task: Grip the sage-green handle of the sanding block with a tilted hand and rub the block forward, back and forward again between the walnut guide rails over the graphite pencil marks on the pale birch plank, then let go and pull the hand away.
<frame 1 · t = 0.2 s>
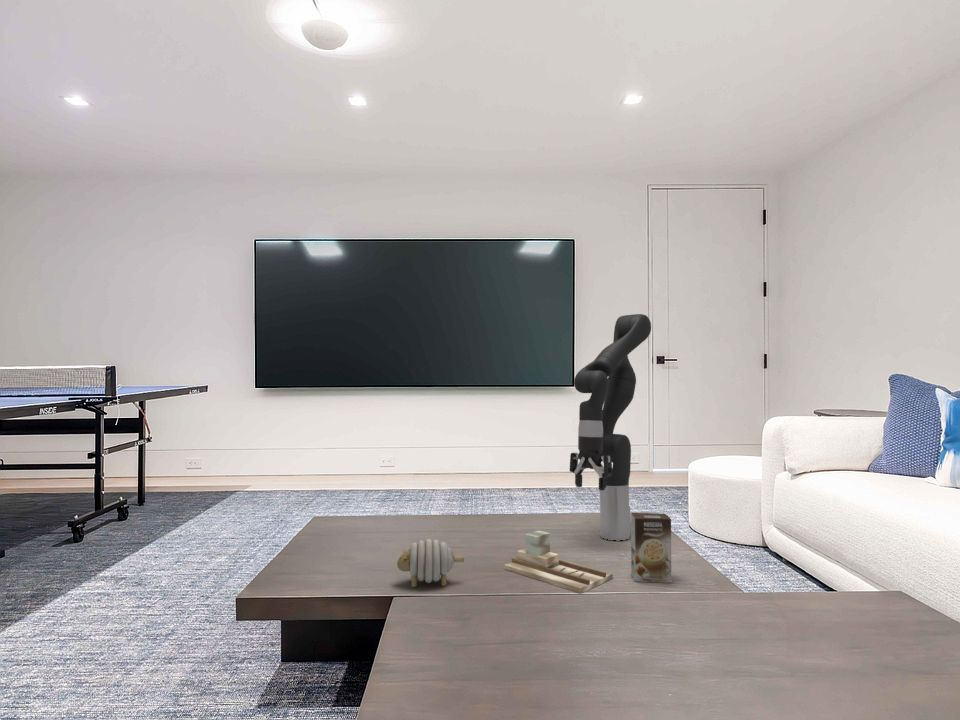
hand: (590, 488, 174), 18 cm above the table, tool pointing down, fingers open, 8 cm apart
coffee box: (651, 579, 146), on the table
birch plank: (557, 573, 150), on the table
sanding block: (537, 548, 155), point 5 cm above the table, slide at 0.0 cm
toy sheep: (430, 584, 144), on the table
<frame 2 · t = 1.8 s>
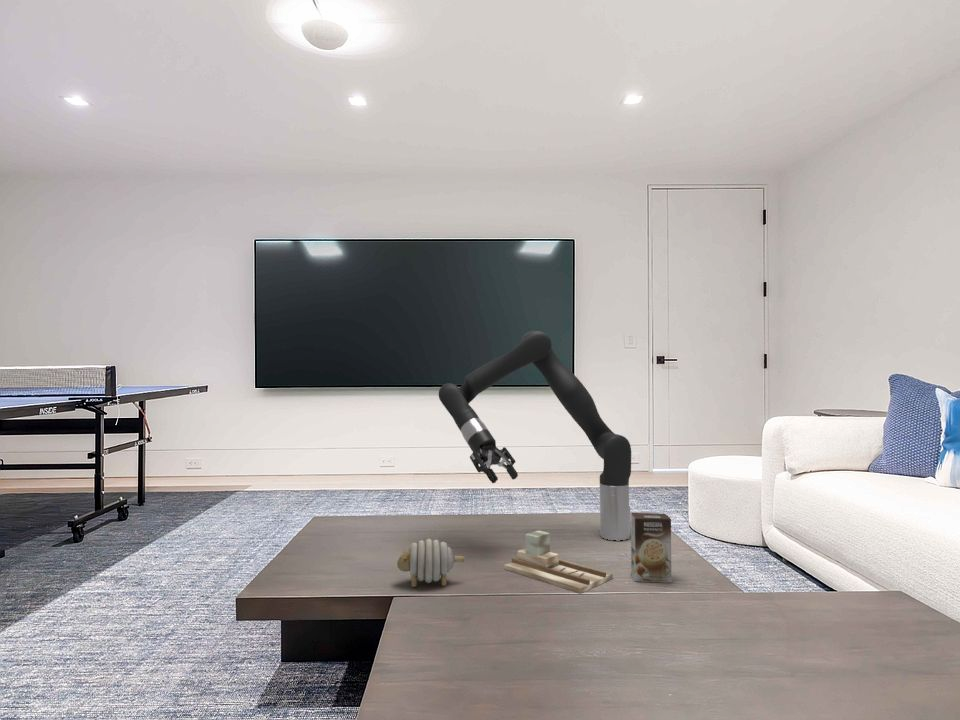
hand: (505, 479, 164), 23 cm above the table, tool tilted 45°, fingers open, 8 cm apart
nothing on the table moved.
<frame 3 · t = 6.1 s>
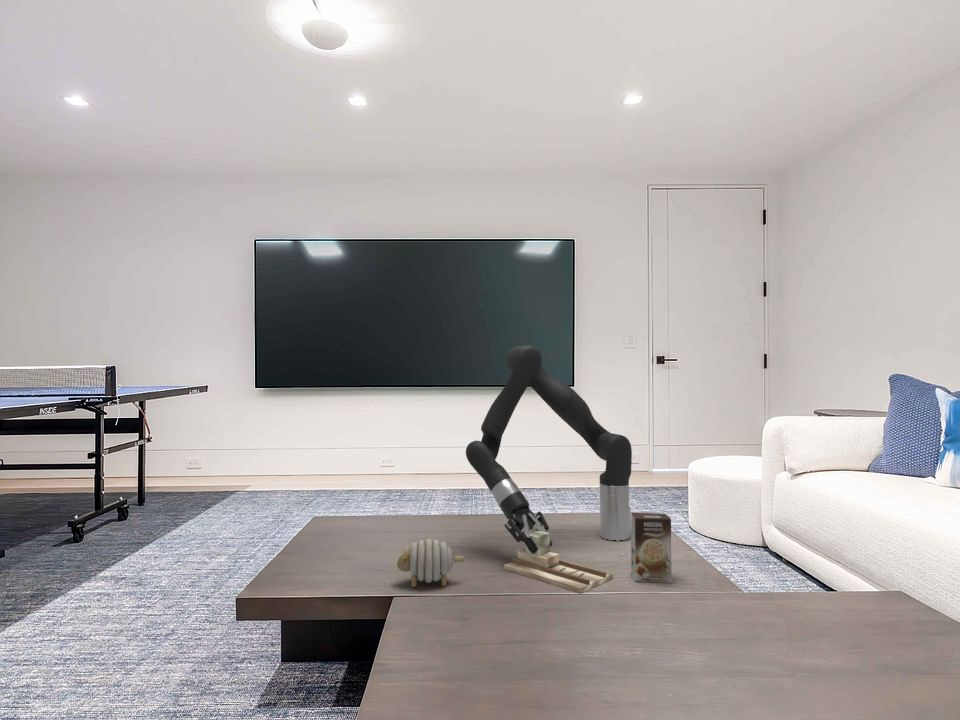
hand: (543, 549, 154), 5 cm above the table, tool tilted 45°, fingers closed on sanding block, 5 cm apart
sanding block: (537, 548, 155), point 5 cm above the table, slide at 0.0 cm, touching gripper
everything else where it was.
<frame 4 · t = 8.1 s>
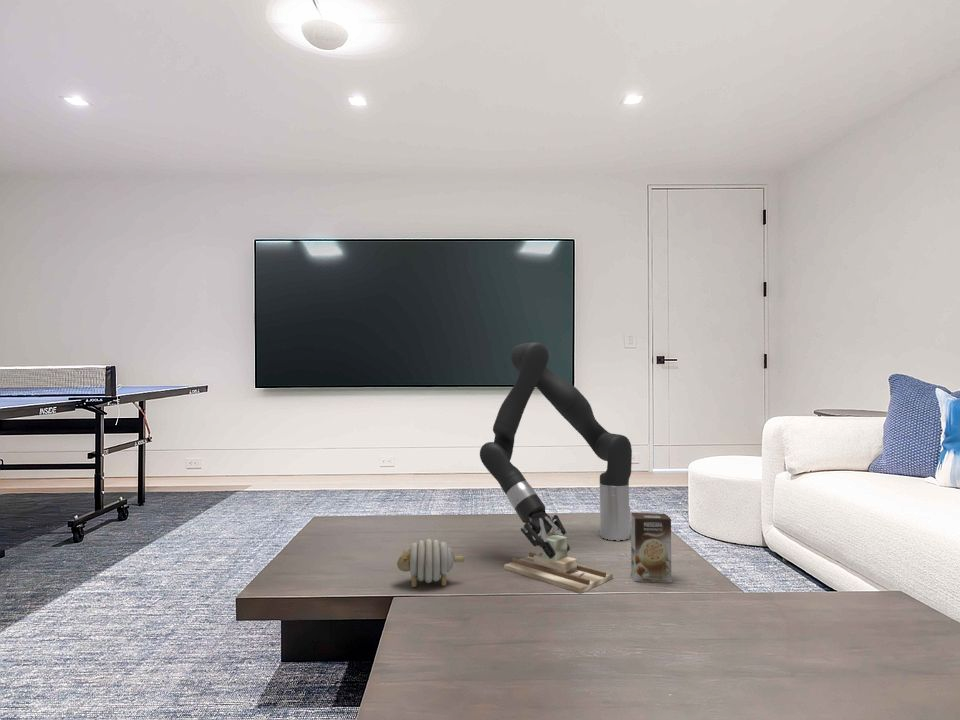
hand: (560, 553, 150), 5 cm above the table, tool tilted 45°, fingers closed on sanding block, 5 cm apart
sanding block: (554, 553, 151), point 5 cm above the table, slide at 5.9 cm, touching gripper
everything else where it was.
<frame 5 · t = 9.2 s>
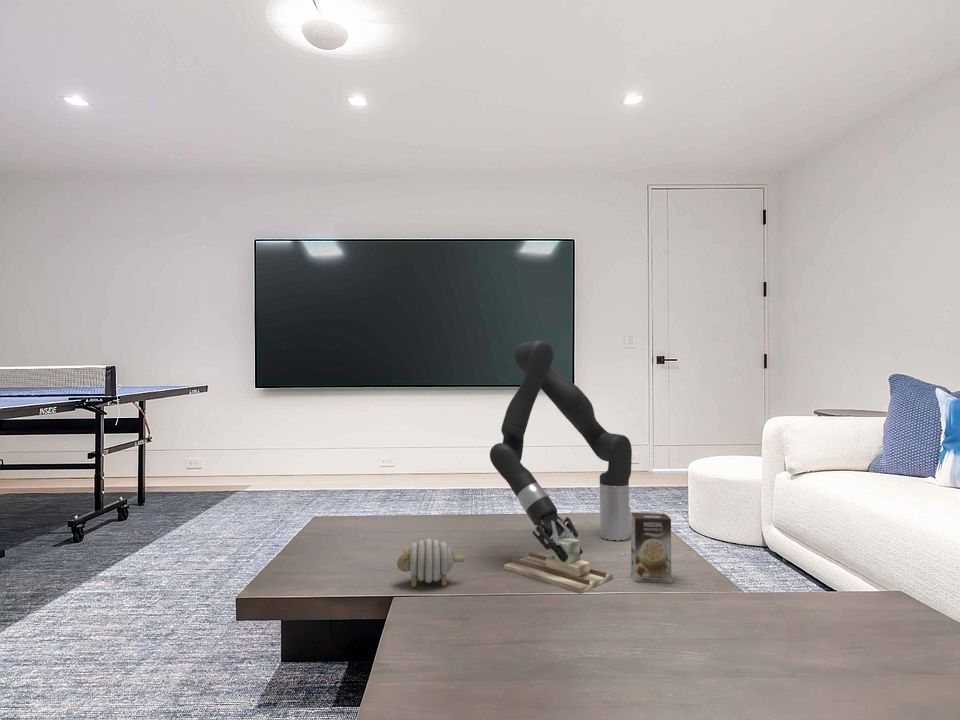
hand: (573, 557, 147), 5 cm above the table, tool tilted 45°, fingers closed on sanding block, 5 cm apart
sanding block: (567, 556, 148), point 5 cm above the table, slide at 10.0 cm, touching gripper
everything else where it was.
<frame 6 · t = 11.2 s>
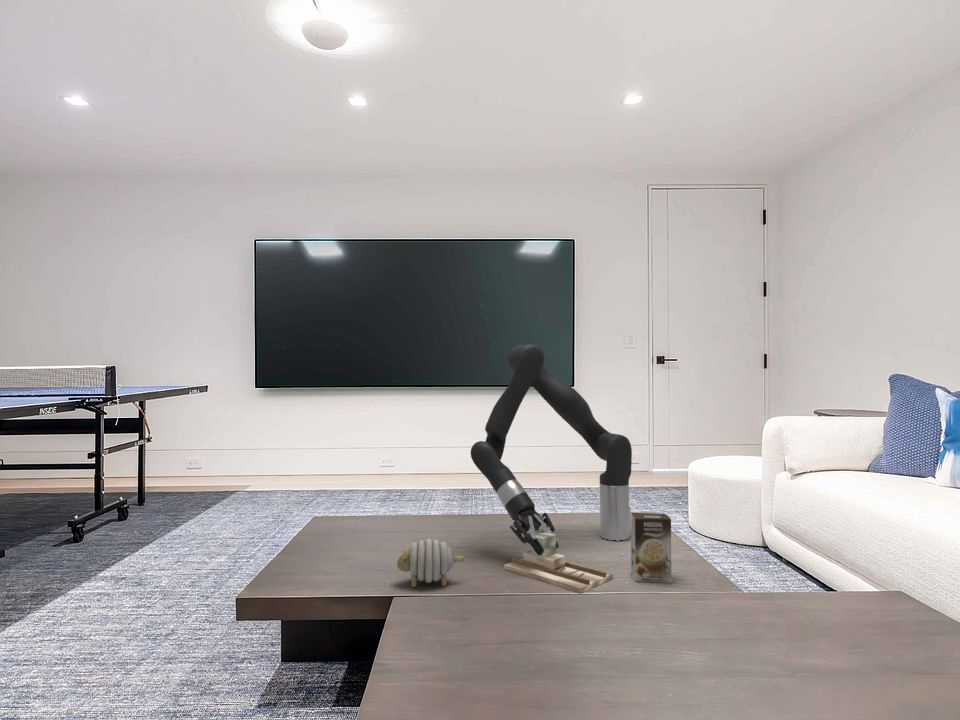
hand: (549, 550, 152), 5 cm above the table, tool tilted 45°, fingers closed on sanding block, 5 cm apart
sanding block: (543, 550, 154), point 5 cm above the table, slide at 2.1 cm, touching gripper
everything else where it was.
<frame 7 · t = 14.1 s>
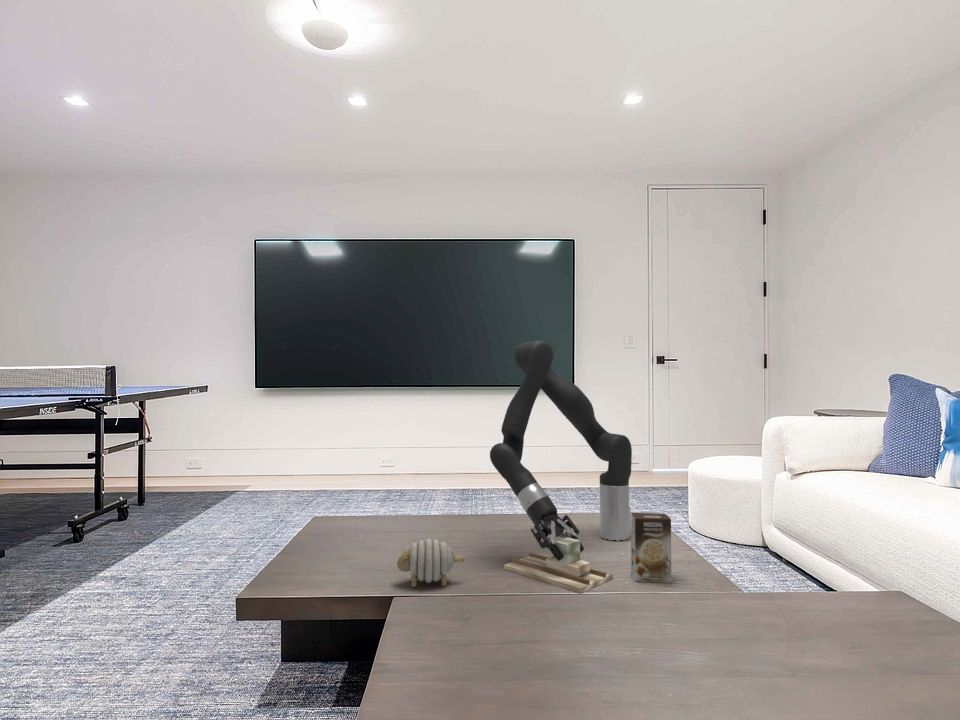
hand: (571, 555, 147), 6 cm above the table, tool tilted 45°, fingers open, 8 cm apart
sanding block: (567, 556, 148), point 5 cm above the table, slide at 10.0 cm
everything else where it was.
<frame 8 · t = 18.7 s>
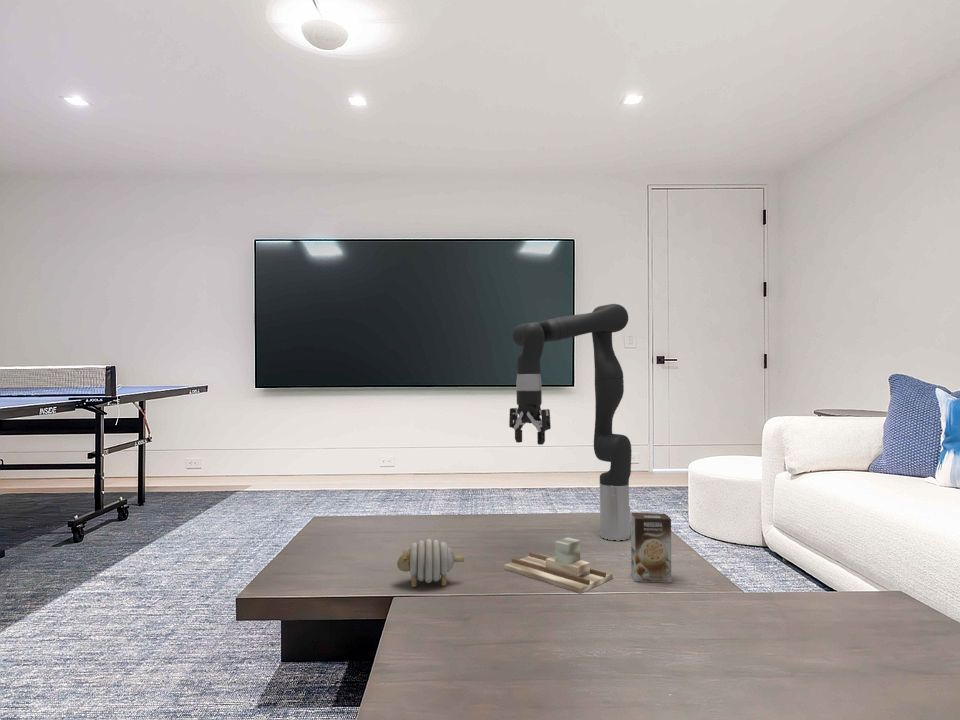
hand: (529, 443, 171), 32 cm above the table, tool pointing down, fingers open, 8 cm apart
nothing on the table moved.
at the end: sanding block slide at 10.0 cm; the gripper is holding nothing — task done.
